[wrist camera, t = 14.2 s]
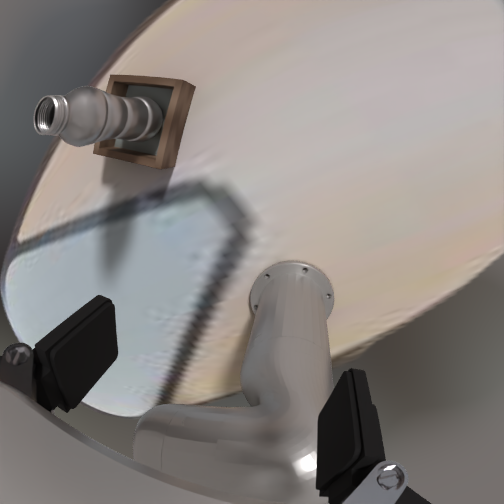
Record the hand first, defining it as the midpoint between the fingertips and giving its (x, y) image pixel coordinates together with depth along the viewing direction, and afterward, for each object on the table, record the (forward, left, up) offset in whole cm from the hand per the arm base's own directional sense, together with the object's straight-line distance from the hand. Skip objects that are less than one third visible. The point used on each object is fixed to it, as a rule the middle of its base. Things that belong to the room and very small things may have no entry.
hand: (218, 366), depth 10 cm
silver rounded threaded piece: (+7, +21, -30) cm, 37 cm away
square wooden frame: (+7, +22, -30) cm, 38 cm away
